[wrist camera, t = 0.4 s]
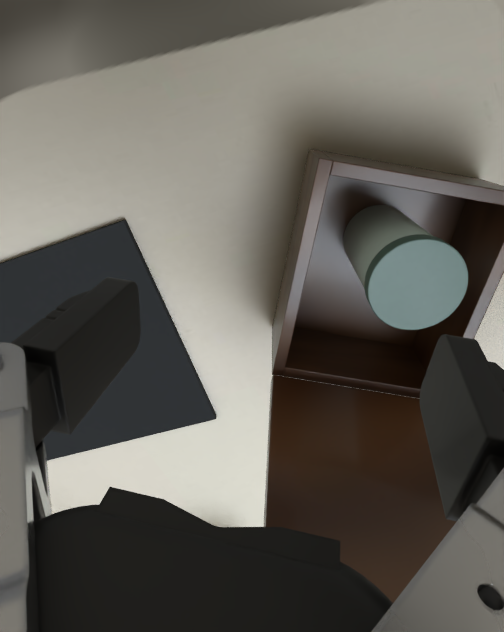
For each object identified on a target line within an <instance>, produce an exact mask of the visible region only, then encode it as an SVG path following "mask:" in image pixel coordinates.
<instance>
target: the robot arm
mask: <svg viewBox="0 0 504 632" xmlns="http://www.w3.org/2000/svg"><path fill="white" fill-rule="evenodd" d="M140 335H141V326H140V308H139V290H138V286H137V284H136V282H134V281H128V280H122V279H116V278H110V277H107V278H105V279H104V280H103V281H101V282H100V283H99V284H98V285H96V286H95V287H94V288H93V289H91V290H90V291H89V292H88V291H86V292H83V293H81V294H78V295H76V296H73V297H71V298H68V299H67V300H66V301H64V302H63V303H62V304H60V305H59V306H58V307H57V308H56V310H53V311H51V312H50V313H49V314H48V315H46V318H42V319H41V320H40V321H39V322H37V323H36V324H35V325H33V326H32V327H31V328H29V329H28V330H27V331H26V332H24V333H23V334H22V335H20V336H19V337H18V338H17V339H15V340H14V341H13V342H11V343H5V342H0V632H504V370H503V369H502V368H501V367H500V366H498V365H497V364H496V363H493V362H488V361H487V359H486V357H485V355H484V353H483V351H482V350H481V348H480V346H479V344H478V342H477V341H476V340H475V339H470V338H464V337H458V336H452V335H446V334H443V335H441V336H440V338H439V339H438V342H437V344H436V347H435V350H434V352H433V355H432V358H431V360H430V363H429V366H428V369H427V371H426V374H425V377H424V380H423V382H422V386H421V390H420V410H421V414H422V418H423V423H424V427H425V431H426V436H427V440H428V444H429V449H430V453H431V457H432V462H433V466H434V470H435V474H436V479H437V483H438V487H439V492H440V496H441V500H442V505H443V509H444V513H445V518H446V519H448V520H452V521H457V522H456V523H455V524H454V526H453V527H452V528H451V530H450V531H449V532H448V533H447V535H446V536H445V537H444V539H443V540H442V541H441V542H440V544H439V545H438V546H437V548H436V549H435V550H434V551H433V553H432V554H431V555H430V557H429V558H428V559H427V561H426V562H425V563H424V564H423V566H422V567H421V568H420V570H419V571H418V572H417V573H416V575H415V576H414V577H413V579H412V580H411V581H410V582H409V584H408V585H407V586H406V588H405V589H404V590H403V591H402V593H401V594H400V595H399V597H398V598H397V599H396V600H395V602H394V603H392V602H391V600H390V599H389V598H388V597H387V596H386V595H385V594H384V593H383V592H382V591H381V590H380V589H379V588H378V587H377V586H375V585H374V584H373V583H372V582H371V581H369V580H368V579H367V578H366V577H364V576H363V575H362V574H360V573H359V572H357V571H356V570H354V569H353V568H351V567H349V566H348V565H346V564H344V563H342V562H340V541H339V540H335V539H331V538H326V537H322V536H318V535H314V534H309V533H305V532H301V531H296V530H292V529H288V528H284V527H225V528H223V527H216V526H213V525H211V524H209V523H207V522H205V521H203V520H202V519H200V518H198V517H196V516H194V515H192V514H190V513H188V512H186V511H184V510H183V509H181V508H179V507H177V506H175V505H173V504H171V503H169V502H167V501H166V500H164V499H159V498H155V497H151V496H147V495H142V494H138V493H134V492H130V491H125V490H121V489H117V488H112V487H110V488H109V489H108V491H107V493H106V494H105V496H104V498H103V500H102V501H101V503H100V505H89V506H82V507H76V508H72V509H68V510H64V511H61V512H58V513H55V514H52V510H51V501H50V490H49V479H48V468H47V458H46V447H45V443H44V438H45V437H46V435H47V434H48V433H49V432H50V431H55V432H59V433H64V434H68V435H71V433H72V432H73V431H74V429H75V428H76V427H77V426H78V424H79V423H80V422H81V421H82V419H83V418H84V417H85V415H86V414H87V413H88V412H89V410H90V409H91V408H92V407H93V405H94V404H95V403H96V401H97V400H98V399H99V398H100V396H101V395H102V394H103V392H104V391H105V390H106V389H107V387H108V386H109V385H110V384H111V382H112V381H113V380H114V378H115V377H116V376H117V375H118V373H119V372H120V371H121V369H122V368H123V367H124V366H125V364H126V363H127V362H128V361H129V359H130V358H131V357H132V355H133V354H134V353H135V351H136V349H137V347H138V344H139V341H140Z"/></svg>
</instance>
